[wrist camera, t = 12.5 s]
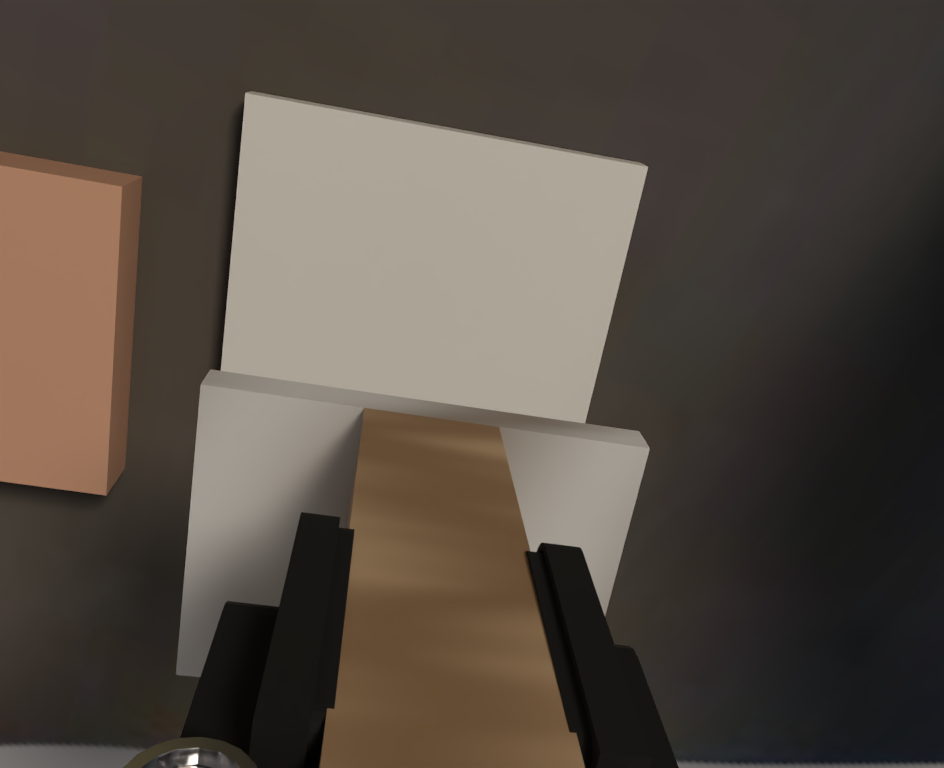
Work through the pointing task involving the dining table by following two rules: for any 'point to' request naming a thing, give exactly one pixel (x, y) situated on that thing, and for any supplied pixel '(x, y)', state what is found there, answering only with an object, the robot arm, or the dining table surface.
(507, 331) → the mat
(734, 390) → the dining table surface
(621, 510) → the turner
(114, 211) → the terracotta tile
